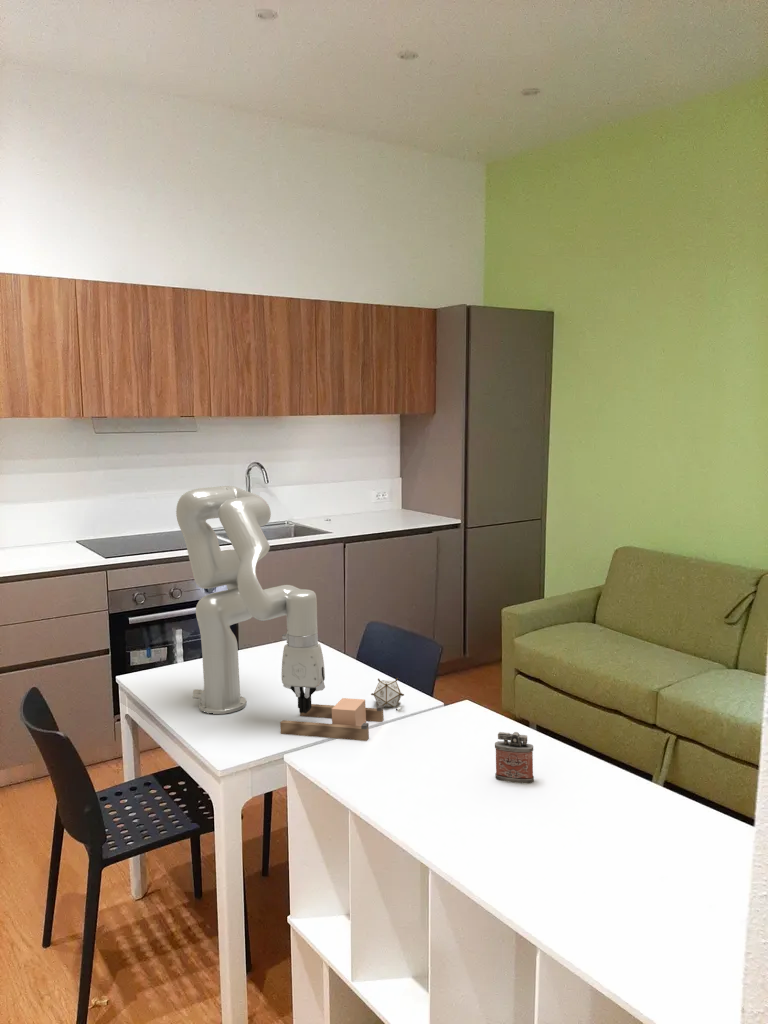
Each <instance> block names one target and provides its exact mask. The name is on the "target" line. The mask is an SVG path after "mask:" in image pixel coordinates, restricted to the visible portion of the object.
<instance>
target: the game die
mask: <svg viewBox="0 0 768 1024" xmlns="http://www.w3.org/2000/svg"><path fill="white" fill-rule="evenodd" d="M398 679H399V678H397V677H396V679H395V680H381V679H380V678H377V681H378V683H377V686H376V687H375V690H374V692H373V693H370V695H371V696H373V697H374V699H375V701H376V703H377V707H378V706H379V705H381V706H383V708H395V707H396V709H395V710H396V711H399V710H398V708H397V707H398V705H399V702H400V700H401V698H402V697H403V696H405V694H404V693H403V692H402V691H401V690H400V687H399V684H398V683H397V682H398Z"/></svg>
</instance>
